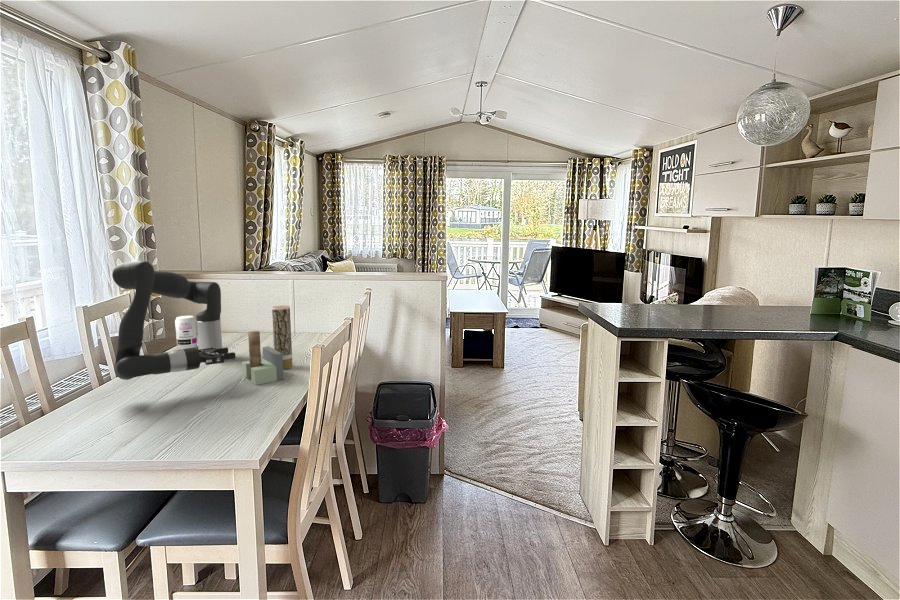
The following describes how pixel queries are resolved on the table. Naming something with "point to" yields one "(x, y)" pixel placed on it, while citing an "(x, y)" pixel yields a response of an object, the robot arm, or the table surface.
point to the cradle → (260, 372)
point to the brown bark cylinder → (282, 333)
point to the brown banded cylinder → (254, 349)
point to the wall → (274, 360)
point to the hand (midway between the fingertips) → (231, 352)
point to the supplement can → (185, 332)
